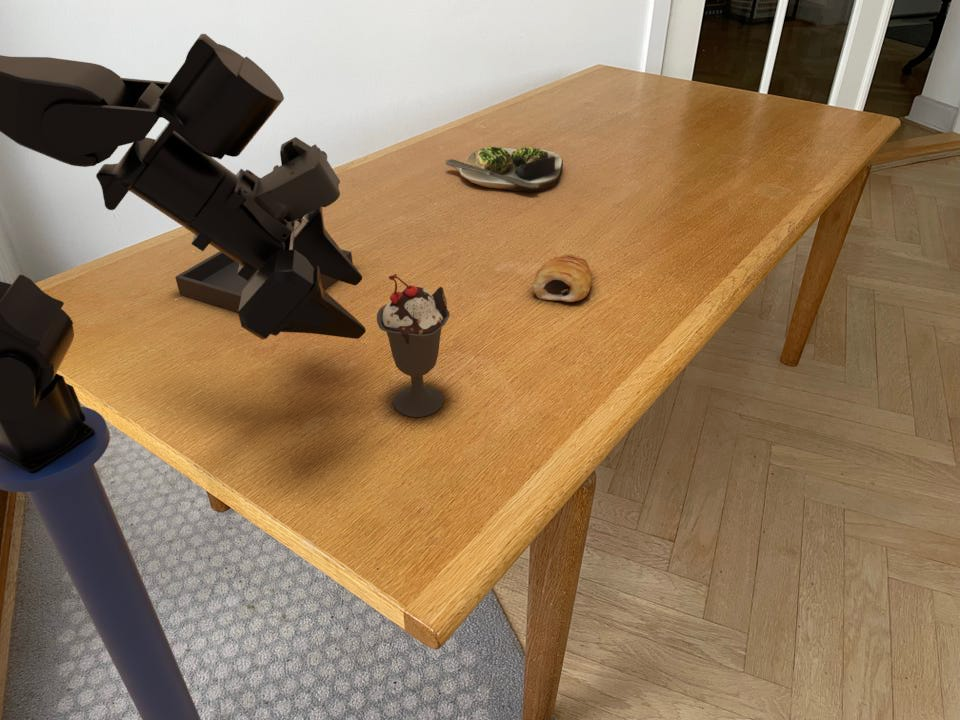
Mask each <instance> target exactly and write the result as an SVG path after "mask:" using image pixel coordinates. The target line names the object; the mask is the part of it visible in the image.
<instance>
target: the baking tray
mask: <svg viewBox="0 0 960 720" xmlns="http://www.w3.org/2000/svg"><path fill="white" fill-rule="evenodd" d="M340 249H341V250H342V251H343V253H344V254H345V255H346V256H347V258H348V259H349V260H350V261H351V263H352V264H353V265H354V263H353V255H352V254H353V253H352V251H349V250H345V249H342V248H340ZM238 268H239V263H237V262H236V261H234V260H233V259H231V258H230V257H228V256H227V255H225V254H224V253H222V252H221V251H219V250H218V252H216V253H214V254H212V255H210V256H209V257H207V258H206V259H204V260H202V261H201V262H199V263H196V264H195V265H193V266H192V267H189V268H188V269H186V270H185V271H182V272H181V273H179V274H177V275H176V276H175V282H176V286H177V289H178V293H179V295H180V296H182V297H183V296H184V297H187V298H190V299H193V300H196V301H200V302H203V303H205V304H210V305H213V306H215V307H219V308H222V309H226V310H230V311H232V312H236V313H238V310H239V305H240V300H241V296H242V291H243V289H244V288H245V287H246V286H247V284H248V283H249V282H250V281H251V280H252V279H253V278H254V276H255V275H256V274H257V273H258V272H259V270H257V271H256V272H255V273H254V274H253V276H252V277H251V278H250V279H249V280H248V281H247V280H246V279H244V278H243V277H241V276H239V275H238V274H237V272H238ZM320 275H321V282H322V287H323V289H324V291H326V289H328V288H329V287H330V286H332V285H333V284H335V283H337V282H338V280H336V279H333V278H331V277H328V276H325V275H323V274H320Z"/></svg>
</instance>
